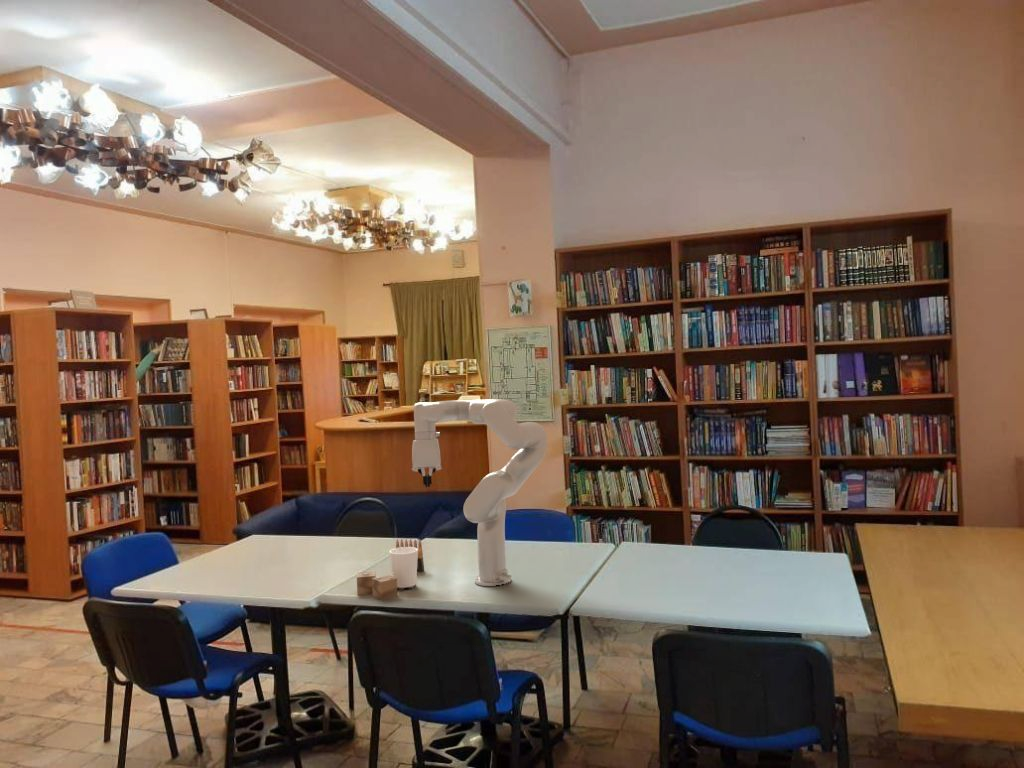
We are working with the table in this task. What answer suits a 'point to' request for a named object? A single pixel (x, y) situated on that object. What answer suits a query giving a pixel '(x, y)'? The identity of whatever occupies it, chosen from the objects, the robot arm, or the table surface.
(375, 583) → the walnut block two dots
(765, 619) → the table surface
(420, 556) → the ammunition clip
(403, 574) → the cup
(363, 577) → the walnut block one dot
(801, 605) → the table surface
